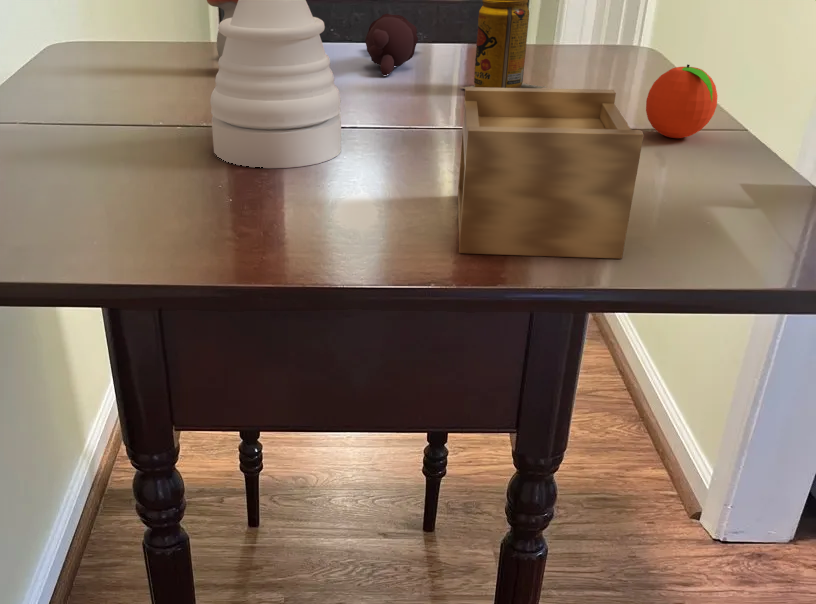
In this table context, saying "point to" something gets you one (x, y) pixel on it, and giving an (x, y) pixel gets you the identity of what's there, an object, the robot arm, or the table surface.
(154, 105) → the table surface
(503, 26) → the yellow drink can
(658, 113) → the clementine
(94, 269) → the table surface
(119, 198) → the table surface
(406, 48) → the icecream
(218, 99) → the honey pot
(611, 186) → the wooden box
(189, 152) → the table surface
